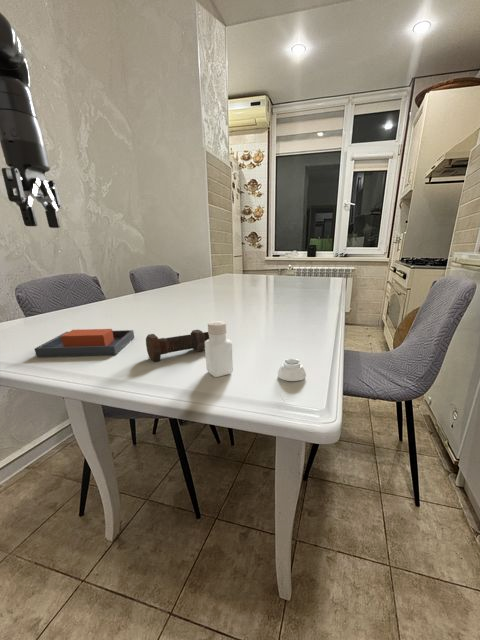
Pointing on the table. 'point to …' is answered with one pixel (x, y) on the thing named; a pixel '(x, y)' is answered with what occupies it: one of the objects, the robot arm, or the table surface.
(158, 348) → the bolt
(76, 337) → the pad
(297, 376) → the lidless jar
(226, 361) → the white square bottle
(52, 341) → the tray
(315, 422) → the table surface
